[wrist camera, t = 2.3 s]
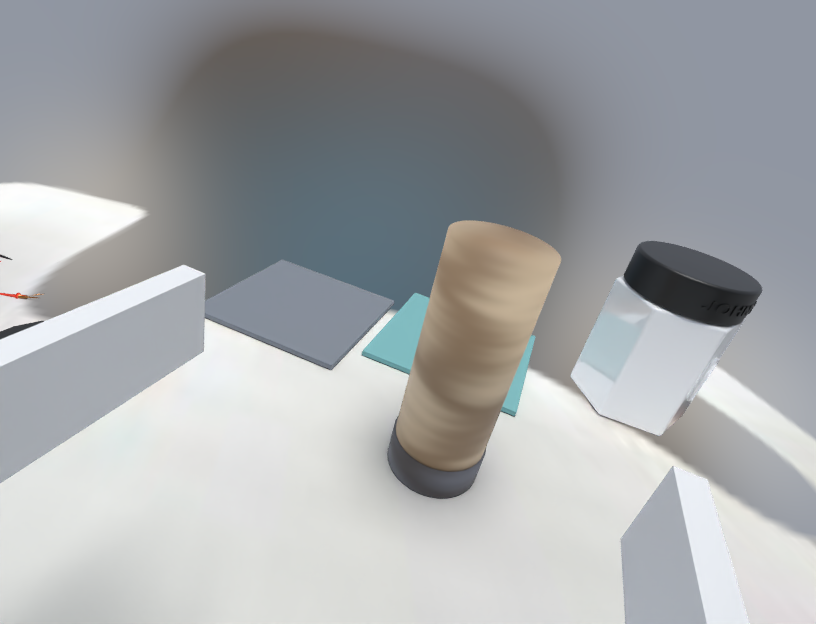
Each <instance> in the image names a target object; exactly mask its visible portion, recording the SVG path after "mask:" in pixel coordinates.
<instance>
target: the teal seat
mask: <svg viewBox="0 0 816 624" xmlns="http://www.w3.org/2000/svg"><path fill="white" fill-rule="evenodd" d="M429 299H430V298H428V297H425V296H423V295H420V294H417V293H415V294H414V295H413V296H412V297H411V298H410V299H409V300H408V301H407V302H406V303H405V305H404V306H403V307H402V308H401V309H400V310H399V311H398V312H397V313H396V315H395V316H394V317H393V318H392V319H391V320H390V321H389V322H388V323H387V324H386V326H385V327H384V328H383V329H382V330H381V331H380V332H379V333H378V334H377V335H376V337H375V338H374V339H373V340H372V341H371V342H370V343H369V344H368V345H367V347H366V348H365V349H364V350H363V352H362V355H363V356H366V357H368V358H371V359H373V360H376V361H378V362H381V363H383V364H386V365H388V366H391V367H393V368H396V369H398V370H401V371H403V372H406V373H408V374H410V371H411V367H412V364H413V360H414V356H415V352H416V348H417V345H418V341H419V337H420V333H421V330H422V326H423V322H424V318H425V314H426V311H427V307H428V303H429ZM534 340H535V336H533V335H531V337H530V339H529V342H528V344H527V347H526V349H525V352H524V354H523V356H522V359H521V361H520V364H519V366H518V369H517V371H516V374H515V376H514V379H513V381H512V384H511V386H510V389H509V391H508V394H507V396H506V399H505V401H504V404H503V406H502V409H501V411H502V412H505V413H507V414H510V415H512V416H515V414H516V412H517V408H518V404H519V400H520V396H521V392H522V388H523V384H524V380H525V376H526V372H527V368H528V364H529V360H530V356H531V352H532V348H533V344H534Z"/></svg>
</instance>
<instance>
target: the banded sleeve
mask: <svg viewBox="0 0 816 624" xmlns="http://www.w3.org/2000/svg"><path fill="white" fill-rule="evenodd" d="M560 262H561V257H560V255H559V253H558V252H557V251H556V250H555V249H554V248H553V247H551V246H550V245H548V244H547V243H545V242H544V241H542V240H540V239H538V238H536V237H534V236H532V235H530V234H527V233H525V232H522V231H520V230H517V229H513V228H510V227H507V226H503V225H499V224H494V223H489V222H482V221H459V222H455V223H453V224H451V225H450V226H449V228H448V232H447V235H446V239H445V243H444V247H443V250H442V254H441V258H440V262H439V266H438V269H437V273H436V277H435V281H434V284H433V288H432V292H431V296H430V299H429V303H428V307H427V311H426V314H425V318H424V322H423V326H422V330H421V333H420V337H419V341H418V345H417V348H416V352H415V356H414V360H413V364H412V367H411V371H410V375H409V379H408V382H407V386H406V390H405V394H404V398H403V401H402V405H401V409H400V413H399V416H398V417H397V419H396V421H395V425H394V429H393V432H392V436H391V440H390V444H389V448H388V461H389V465H390V467H391V469H392V471H393V473H394V474H395V476H396V477H397V478H398V479H399V480H400V481H401V482H402V483H403V484H404V485H405V486H407V487H408V488H410V489H411V490H413V491H415V492H417V493H419V494H422V495H425V496H428V497H433V498H451V497H455V496H458V495H460V494H462V493H464V492H466V491H467V490H468V489H469V488H470V487H471V486H472V484H473V483H474V480H475V478H476V475H477V473H478V470H479V468H480V465H481V463H482V461H483V458H484V456H485V452H486V446H487V443H488V441H489V438H490V436H491V433H492V431H493V428H494V426H495V423H496V421H497V418H498V416H499V414H500V411H501V409H502V406H503V404H504V401H505V399H506V396H507V394H508V391H509V389H510V386H511V384H512V381H513V379H514V376H515V374H516V371H517V369H518V366H519V364H520V361H521V359H522V356H523V354H524V352H525V349H526V347H527V344H528V342H529V339H530V337H531V334H532V332H533V329H534V327H535V324H536V322H537V319H538V317H539V314H540V312H541V309H542V307H543V304H544V302H545V299H546V297H547V294H548V292H549V289H550V287H551V285H552V282H553V280H554V277H555V274H556V272H557V269H558V267H559V265H560Z"/></svg>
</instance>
